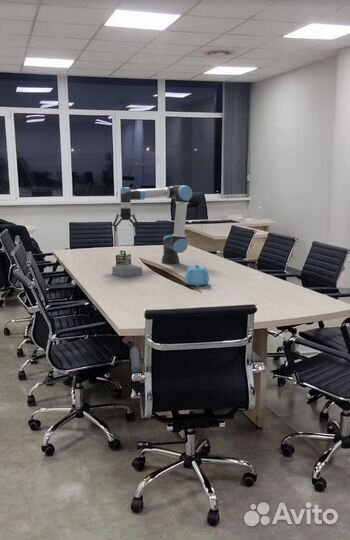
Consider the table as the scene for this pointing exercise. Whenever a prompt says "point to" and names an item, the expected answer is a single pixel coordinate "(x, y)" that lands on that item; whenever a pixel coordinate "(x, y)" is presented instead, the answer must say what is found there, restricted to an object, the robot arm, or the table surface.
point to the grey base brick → (127, 270)
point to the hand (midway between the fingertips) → (125, 235)
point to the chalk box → (123, 259)
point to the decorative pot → (196, 276)
